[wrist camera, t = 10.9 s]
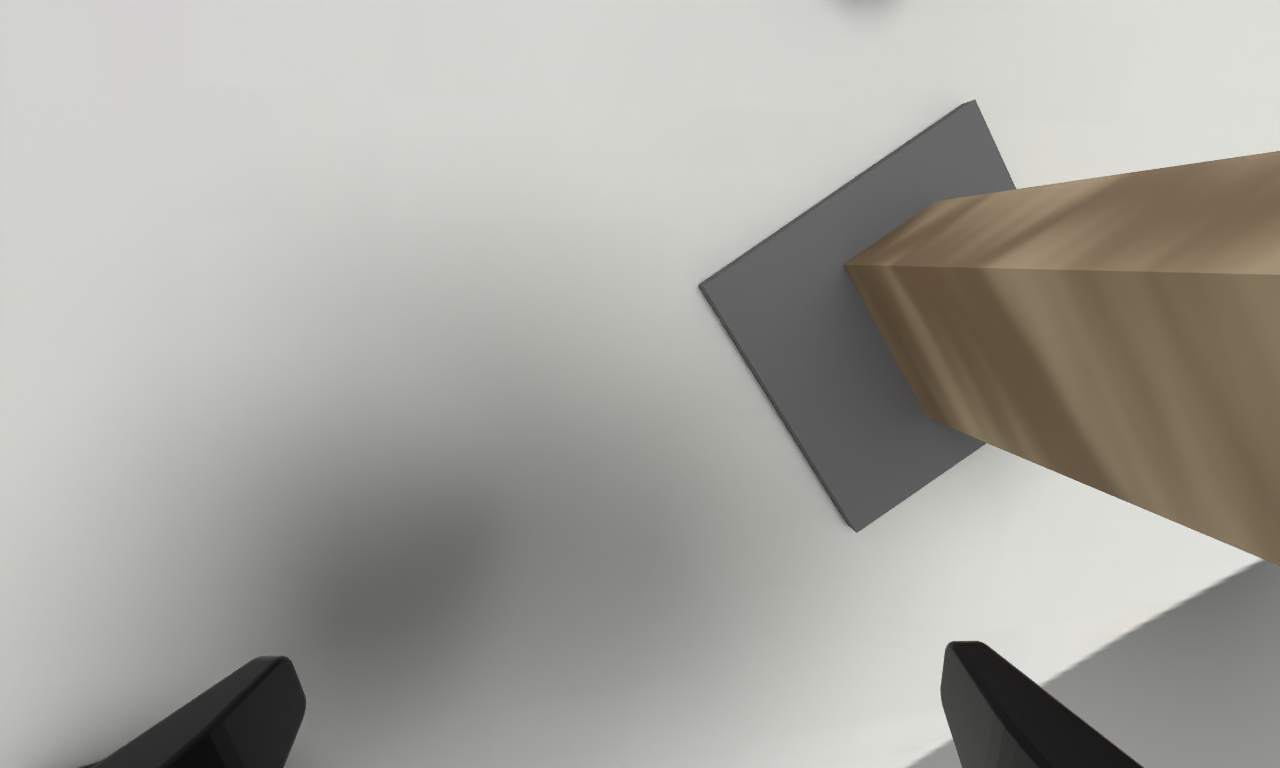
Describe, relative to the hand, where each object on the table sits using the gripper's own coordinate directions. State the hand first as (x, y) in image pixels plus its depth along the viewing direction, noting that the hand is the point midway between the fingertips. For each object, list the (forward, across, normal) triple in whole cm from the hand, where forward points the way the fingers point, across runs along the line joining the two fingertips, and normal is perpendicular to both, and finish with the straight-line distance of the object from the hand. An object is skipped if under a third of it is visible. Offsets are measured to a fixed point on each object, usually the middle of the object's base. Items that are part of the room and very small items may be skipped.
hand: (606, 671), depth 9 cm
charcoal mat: (+14, -8, 0) cm, 16 cm away
